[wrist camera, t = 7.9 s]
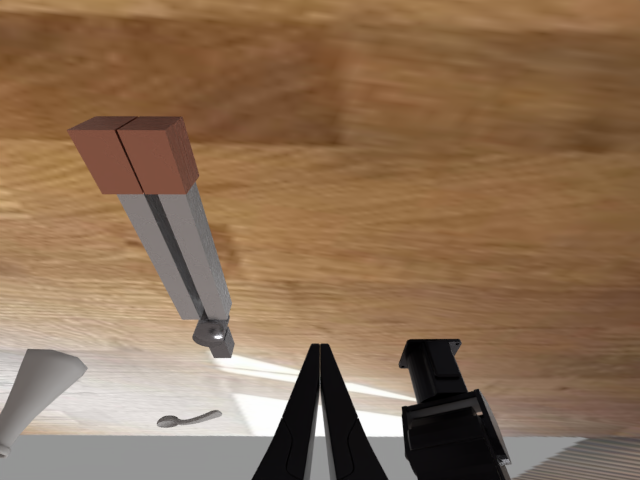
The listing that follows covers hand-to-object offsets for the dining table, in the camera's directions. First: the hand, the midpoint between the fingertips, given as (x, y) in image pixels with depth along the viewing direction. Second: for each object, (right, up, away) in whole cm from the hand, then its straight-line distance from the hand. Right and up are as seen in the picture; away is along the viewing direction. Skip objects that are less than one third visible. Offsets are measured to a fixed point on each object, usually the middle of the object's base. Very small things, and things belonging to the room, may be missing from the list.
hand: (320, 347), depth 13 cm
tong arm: (-11, +4, +11) cm, 16 cm away
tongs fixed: (-12, +2, +13) cm, 18 cm away
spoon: (-23, -25, +36) cm, 50 cm away
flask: (-34, -11, +24) cm, 43 cm away
